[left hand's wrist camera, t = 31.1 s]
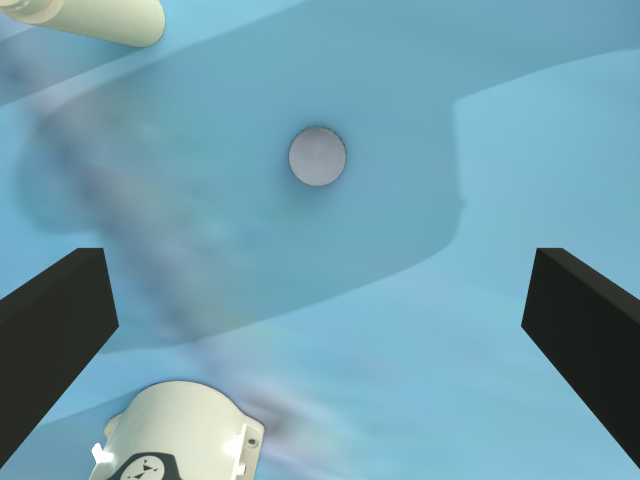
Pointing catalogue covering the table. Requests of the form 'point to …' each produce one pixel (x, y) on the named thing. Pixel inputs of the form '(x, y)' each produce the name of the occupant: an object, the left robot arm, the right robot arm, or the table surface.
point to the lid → (317, 156)
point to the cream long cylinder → (94, 18)
